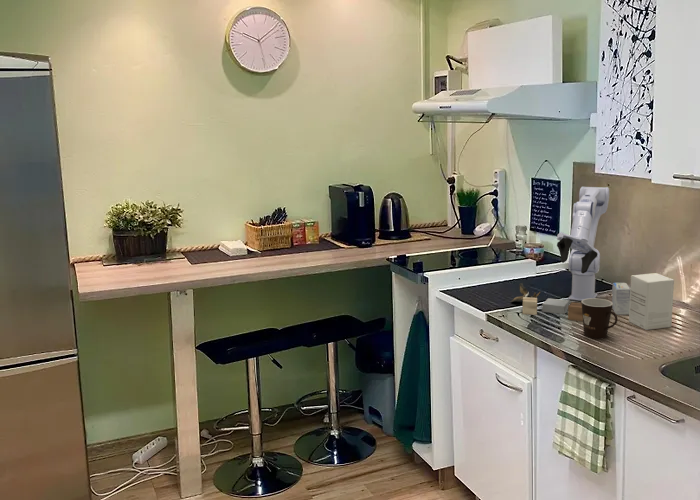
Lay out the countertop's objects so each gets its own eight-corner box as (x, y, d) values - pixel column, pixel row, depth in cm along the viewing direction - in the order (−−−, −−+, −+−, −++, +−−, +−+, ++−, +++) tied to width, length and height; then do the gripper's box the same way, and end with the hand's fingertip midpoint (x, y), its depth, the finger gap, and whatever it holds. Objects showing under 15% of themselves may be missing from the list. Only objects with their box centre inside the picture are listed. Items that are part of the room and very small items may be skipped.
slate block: (548, 306, 236) (548, 298, 235) (569, 309, 232) (569, 300, 232) (542, 312, 230) (542, 303, 229) (563, 315, 226) (564, 306, 226)
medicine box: (629, 315, 223) (631, 289, 222) (615, 314, 224) (616, 288, 222) (625, 307, 231) (626, 282, 229) (611, 307, 232) (612, 282, 230)
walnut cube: (571, 315, 225) (571, 302, 224) (585, 317, 223) (586, 303, 222) (567, 319, 221) (568, 306, 220) (582, 321, 219) (583, 307, 218)
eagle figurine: (542, 299, 239) (521, 290, 245) (539, 285, 235) (517, 276, 241) (529, 314, 236) (508, 304, 243) (525, 301, 232) (504, 291, 238)
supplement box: (653, 318, 219) (656, 272, 216) (672, 327, 211) (675, 279, 208) (627, 321, 218) (630, 274, 214) (645, 330, 209) (648, 281, 206)
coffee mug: (576, 330, 211) (577, 298, 209) (605, 329, 210) (607, 297, 208) (588, 343, 199) (589, 310, 197) (618, 343, 199) (620, 309, 197)
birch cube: (522, 310, 232) (523, 297, 231) (536, 310, 231) (537, 297, 230) (522, 314, 228) (522, 301, 227) (536, 315, 227) (537, 301, 226)
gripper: (569, 216, 222) (562, 251, 215) (606, 237, 225) (601, 271, 218) (555, 226, 228) (549, 260, 221) (592, 246, 231) (586, 280, 224)
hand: (574, 266), depth 220 cm, fingers open, 7 cm apart
